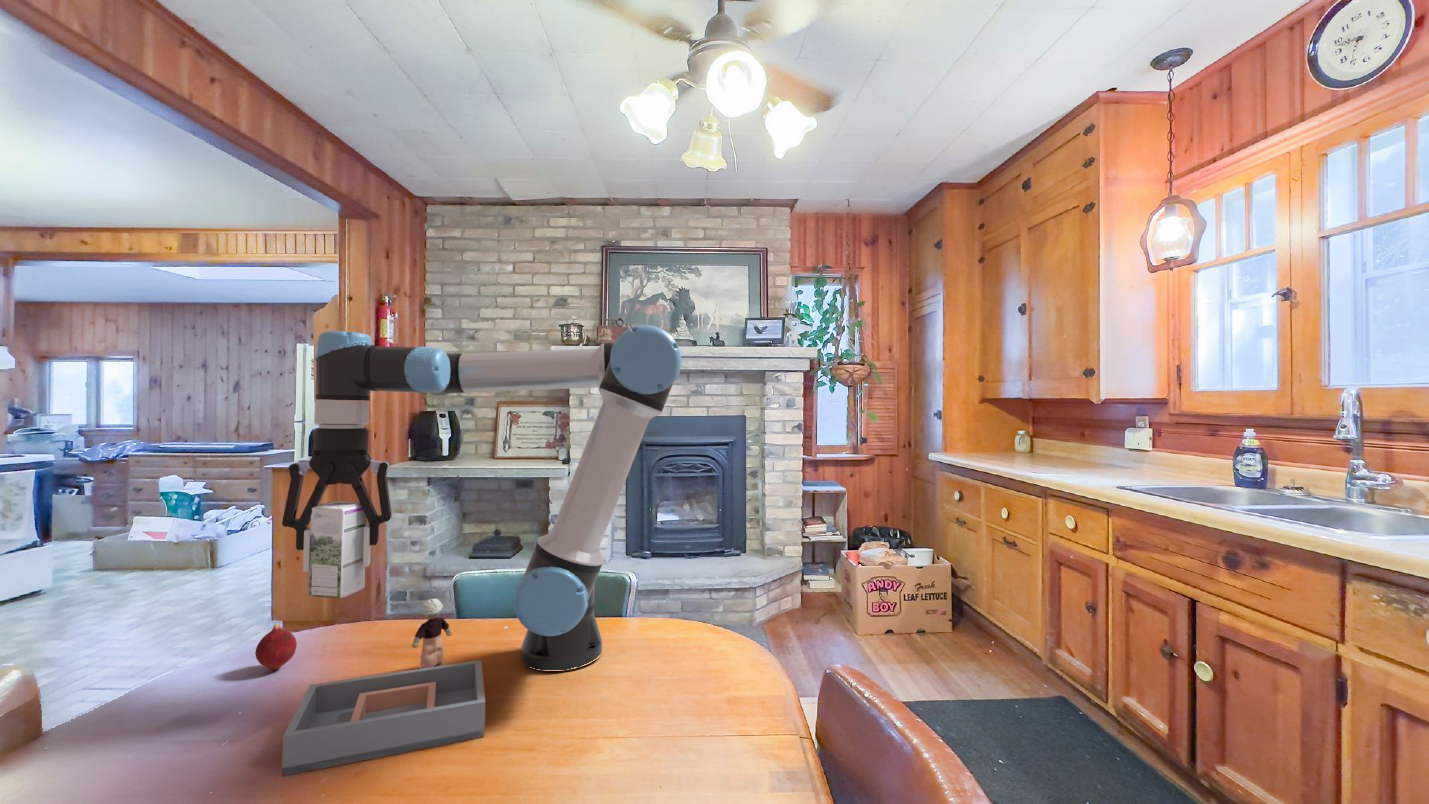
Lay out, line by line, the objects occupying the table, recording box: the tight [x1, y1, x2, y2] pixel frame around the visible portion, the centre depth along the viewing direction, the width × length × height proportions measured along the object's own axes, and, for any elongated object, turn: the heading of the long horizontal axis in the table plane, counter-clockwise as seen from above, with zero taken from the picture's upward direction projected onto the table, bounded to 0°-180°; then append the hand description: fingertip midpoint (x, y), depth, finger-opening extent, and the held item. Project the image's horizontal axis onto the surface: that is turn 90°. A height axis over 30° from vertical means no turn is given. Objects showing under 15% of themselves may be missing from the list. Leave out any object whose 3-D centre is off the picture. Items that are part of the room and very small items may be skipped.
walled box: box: [281, 659, 486, 777], centre depth 85 cm, size 24×15×5 cm, turn 114°
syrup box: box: [308, 501, 367, 599], centre depth 94 cm, size 6×6×14 cm
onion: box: [254, 623, 298, 671], centre depth 102 cm, size 6×6×8 cm
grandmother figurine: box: [411, 598, 453, 669], centre depth 104 cm, size 8×4×13 cm, turn 164°
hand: (337, 567), depth 94 cm, fingers closed on syrup box, 7 cm apart
